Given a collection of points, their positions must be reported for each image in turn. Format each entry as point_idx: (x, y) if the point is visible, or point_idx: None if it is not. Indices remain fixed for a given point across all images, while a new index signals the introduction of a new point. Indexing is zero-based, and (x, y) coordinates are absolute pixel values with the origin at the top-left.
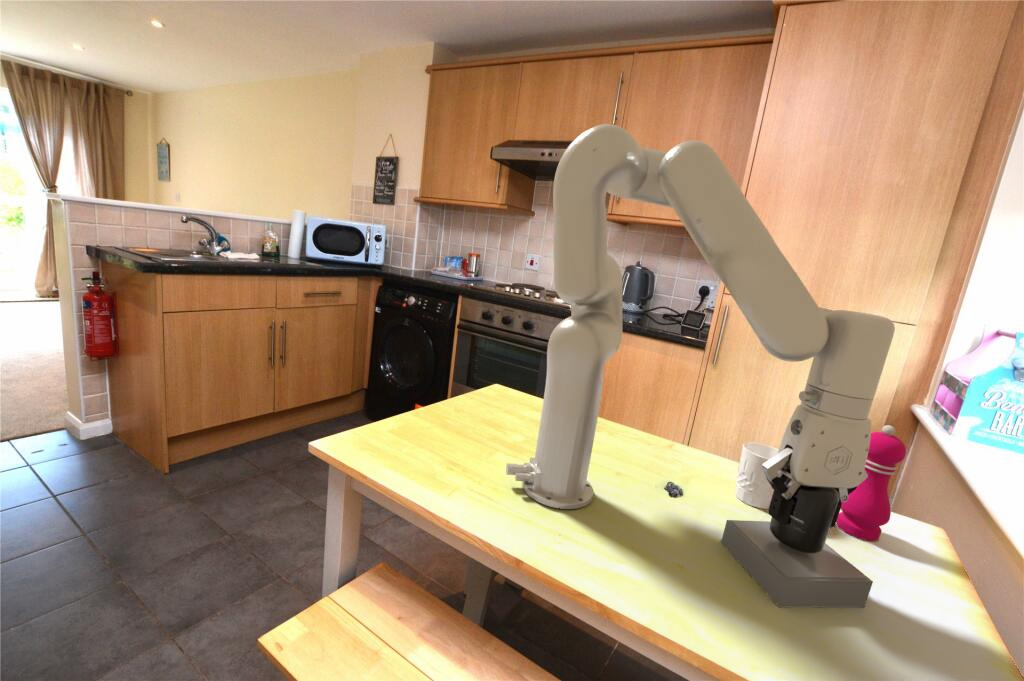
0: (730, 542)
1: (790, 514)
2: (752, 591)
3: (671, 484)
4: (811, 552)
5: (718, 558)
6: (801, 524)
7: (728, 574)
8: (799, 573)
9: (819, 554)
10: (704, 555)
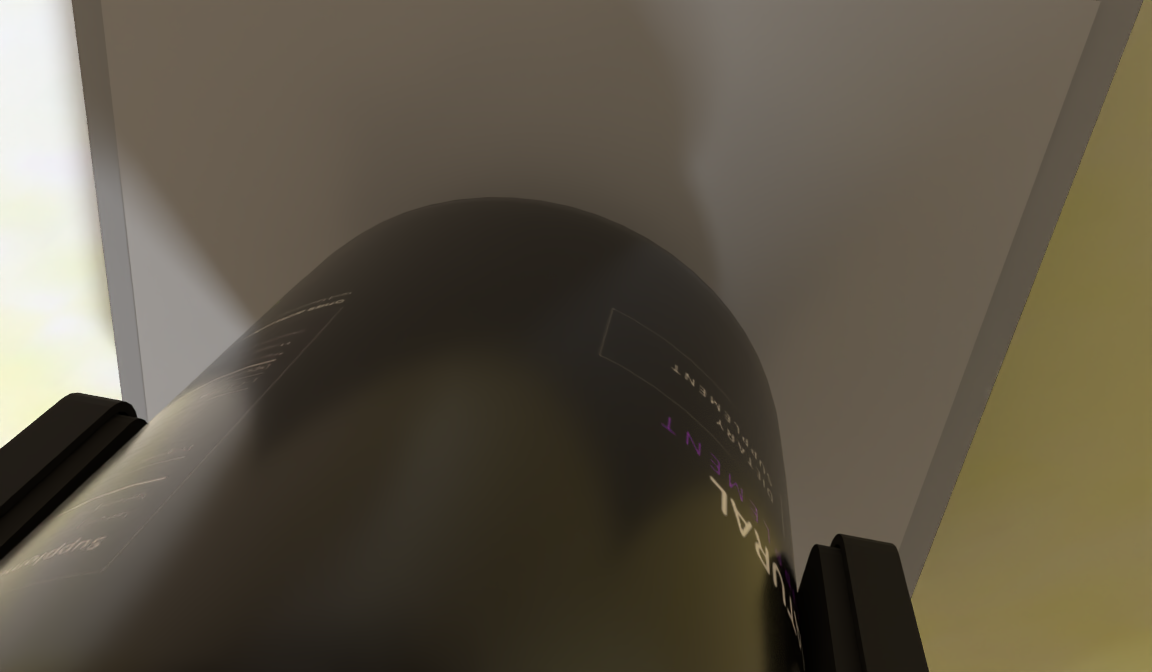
0: None
1: (836, 664)
2: (1103, 131)
3: None
4: (563, 205)
5: (1020, 469)
6: (731, 476)
7: (1118, 322)
8: (883, 27)
9: (336, 246)
10: (1109, 512)
